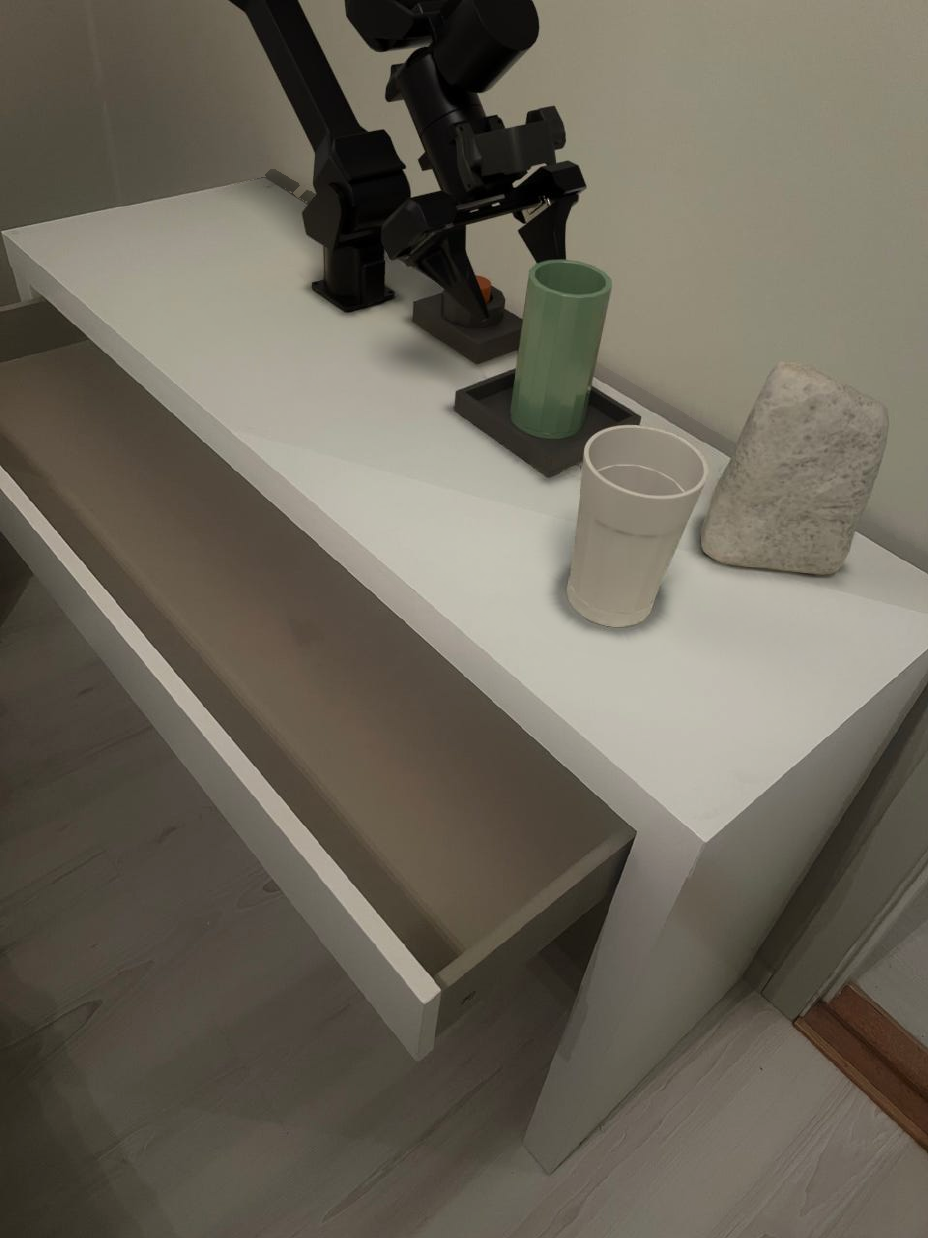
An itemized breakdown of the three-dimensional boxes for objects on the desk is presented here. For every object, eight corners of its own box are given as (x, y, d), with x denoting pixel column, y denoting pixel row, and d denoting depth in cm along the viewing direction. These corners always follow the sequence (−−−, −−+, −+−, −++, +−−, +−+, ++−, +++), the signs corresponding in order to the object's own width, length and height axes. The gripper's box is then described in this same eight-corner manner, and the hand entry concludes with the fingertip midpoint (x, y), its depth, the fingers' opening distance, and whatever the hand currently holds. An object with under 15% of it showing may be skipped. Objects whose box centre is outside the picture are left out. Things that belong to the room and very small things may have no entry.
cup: (661, 645, 65) (707, 509, 56) (548, 622, 65) (577, 484, 57) (666, 571, 70) (709, 437, 62) (562, 550, 71) (590, 415, 62)
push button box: (412, 321, 94) (413, 283, 92) (463, 304, 98) (467, 267, 95) (476, 364, 89) (480, 325, 87) (529, 345, 93) (534, 307, 90)
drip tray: (453, 410, 83) (455, 390, 82) (542, 374, 89) (545, 356, 88) (548, 478, 77) (551, 458, 76) (637, 435, 83) (642, 416, 82)
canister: (497, 423, 82) (515, 281, 72) (527, 390, 86) (548, 252, 77) (566, 447, 80) (594, 305, 71) (593, 412, 84) (623, 273, 75)
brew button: (450, 296, 91) (451, 279, 90) (474, 288, 93) (476, 271, 92) (471, 309, 90) (473, 292, 88) (496, 301, 91) (498, 284, 90)
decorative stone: (834, 542, 74) (914, 376, 64) (840, 591, 70) (927, 422, 60) (698, 516, 75) (755, 348, 65) (696, 563, 71) (757, 391, 61)
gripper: (409, 82, 65) (496, 296, 67) (592, 54, 74) (662, 242, 77) (343, 162, 74) (422, 348, 77) (513, 128, 84) (578, 294, 86)
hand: (525, 306), depth 79 cm, fingers open, 9 cm apart
